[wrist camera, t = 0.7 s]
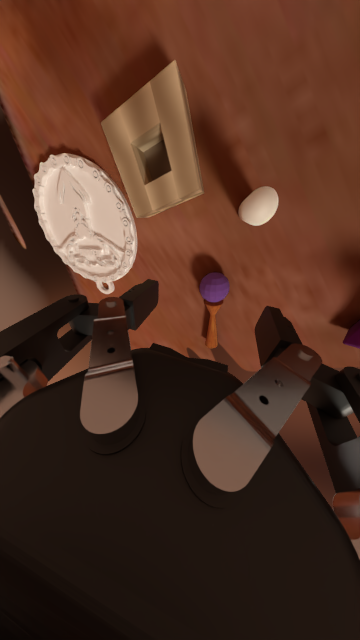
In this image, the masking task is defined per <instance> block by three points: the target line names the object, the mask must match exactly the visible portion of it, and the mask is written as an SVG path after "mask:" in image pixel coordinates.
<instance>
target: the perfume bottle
mask: <svg viewBox="0 0 360 640" xmlns="http://www.w3.org/2000/svg"><path fill="white" fill-rule="evenodd" d="M343 343H344V344H346V345H350V346H353V347H356V348H360V320H359V321H358V322H357V323H356V324H354V325H353V326H352V327H351V328H350V329H349V330H348V332H347V334H346V337H345V339H344V341H343Z"/></svg>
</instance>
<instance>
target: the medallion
mask: <svg viewBox="0 0 360 640" xmlns="http://www.w3.org/2000/svg"><path fill="white" fill-rule="evenodd" d="M34 179H35V186H34V189H33V190H32V191H33V195H34V198H35V204H34V208H35V210H36V211H37V212H38V213H37V214H38V218H39V219H40V220H39V224H40V226H41V227H42V228H43V231H44V233H45V237H46V239H47V240H48V241H50V244H51V245H52V247H54V251H55V252H56V253H57V254H58V255H59V256H60V257H61V258H62V260H63V262H64V263H65V264H68V265H69V266H70V267H71V268H72V269H73V271H74V272H76V273H79V274H81V275H82V276H83V277H84V278H88V279H91V280H93V281H95V282H96V283H97V287H98V288H99V290H100V291H101V292H103V293H105V294H110V293H111V292H113V291H114V284H113V282H112V281H115V280H117V279H119V278H121V277H123V276H124V275H125V274H126V273H128V271H129V270H130V269H131V267H132V265H133V263H134V261H135V257H136V252H137V233H136V227H135V223H134V219H133V216H132V213H131V210H130V207H129V205H128V203H127V201H126V199H125V197H124V195H123V194H122V192H121V191H120V189H119V188H118V186H117V185H116V183H115V182H114V181H113V180H112V179H111V178H110V176H109V175H108V174H107V173H106V172H105V171H103V170H102V169H101V168H100V167H99V166H97V165H96V164H94V163H93V162H91V161H89V160H87V159H85V158H83V157H80V156H77V155H73V154H66V153H63V154H59V155H55V156H54V155H50V158H48V160H47V161H46V162H44V163H43V162H41V163H40V166H39V171H38V173H36V174H35V175H34ZM35 188H36V189H35ZM51 241H52V242H51ZM102 282H104V283H107V284H108V286H109V289H106V288H104V286H103V285H102Z"/></svg>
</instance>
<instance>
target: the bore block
mask: <svg viewBox="0 0 360 640" xmlns="http://www.w3.org/2000/svg"><path fill="white" fill-rule="evenodd" d="M101 125H102V128H103V131H104V133H105V136H106V138H107V141H108V144H109V146H110V149H111V152H112V154H113V157H114V160H115V162H116V165H117V168H118V170H119V173H120V175H121V178H122V181H123V183H124V186H125V189H126V191H127V194H128V197H129V199H130V202H131V205H132V207H133V210H134V213H135V215H136V218H144V217H151V216H153V215H155V214H158V213H160V212H162V211H165V210H167V209H169V208H171V207H174V206H176V205H178V204H181V203H183V202H185V201H187V200H190V199H192V198H194V197H197V196H199V195H201V194H203V193H204V189H203V184H202V178H201V172H200V167H199V161H198V155H197V150H196V144H195V138H194V133H193V127H192V121H191V116H190V110H189V104H188V99H187V93H186V89H185V86H184V83H183V80H182V77H181V75H180V72H179V69H178V66H177V63H176V61H175V60H174V61H173V62H172V63H171V64H169V65H168V66H167V67H166V68H165V69H163V70H162V71H161V72H160V73H159V74H158V75H156V76H155V77H154V78H153V79H152V80H151V81H149V82H148V83H147V84H146V85H145V86H143V87H142V88H141V89H140V90H139V91H138V92H136V93H135V94H134V95H133V96H132V97H130V98H129V99H128V100H127V101H126V102H125V103H123V104H122V105H121V106H120V107H119V108H117V109H116V110H115V111H114V112H113V113H112V114H110V115H109V116H108V117H107V118H106V119H104V120H103V121H102V122H101Z"/></svg>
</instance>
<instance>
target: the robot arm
mask: <svg viewBox="0 0 360 640" xmlns="http://www.w3.org/2000/svg"><path fill="white" fill-rule="evenodd" d="M158 287H159V284H158V281H155V280H150V279H147V280H146V281H145V282H144V283H142V284H138V285H135V286H134V287H132V288H131V289H130V290H128V291H127V292H126V293H124V294H123V295H121V296H120V297H119V298H118V297H108V298H105V299H102V300H101V301H100V302H99V303H88V300H87V297H86V296H84V295H70V296H66V297H64V298H62V299H60V300H58V301H56V302H55V303H53V304H51V305H49V306H47V307H45V308H43V309H42V310H40V311H38V312H36V313H34V314H33V315H30V316H29V317H27V318H25V319H23V320H21V321H19V322H18V323H16V324H14V325H12V326H10V327H8V328H6V329H4V330H3V331H1V332H0V640H360V436H359V437H358V438H357V436H356V434H355V432H354V430H353V428H352V426H351V424H350V422H349V420H348V418H347V416H348V415H350V414H352V413H355V415H356V417H357V418H358V421H359V423H360V369H357V368H355V367H345V368H344V369H343V370H341V371H340V372H339V371H337V370H335V369H333V368H331V367H328V366H326V365H324V364H322V359H321V357H320V356H319V355H318V354H317V353H316V352H315V351H314V350H312V349H311V348H309V347H307V346H305V345H303V344H302V342H301V341H300V339H299V337H298V335H297V333H296V331H295V329H294V327H293V325H292V323H291V322H290V321H289V320H288V319H287V318H286V317H283V315H282V313H281V311H280V309H279V308H274V307H270V306H266V307H265V309H264V311H263V312H262V314H261V316H260V318H259V320H258V322H257V324H256V327H255V336H256V342H257V347H258V353H259V359H260V365H261V369H260V370H259V371H258V372H256V373H255V374H254V375H253V376H252V377H251V378H250V379H249V380H247V381H246V382H245V383H244V384H243V383H242V382H241V381H240V380H238V379H237V378H236V377H235V376H233V375H232V374H230V373H229V372H227V371H228V366H227V365H225V364H221V363H218V362H215V361H211V360H208V359H196V358H188V357H185V356H183V355H182V354H180V353H178V352H176V351H174V350H173V349H171V348H168V347H165V346H161V345H158V344H155V343H153V344H152V345H151V347H150V348H139V349H134V350H131V347H130V341H129V334H128V330H129V329H132V330H137V328H138V327H139V326H140V325H141V324H142V323H143V321H144V320H145V319H146V318H147V317H148V315H149V314H150V313H151V312H152V311H153V309H154V308H155V307H156V306H157V303H158ZM68 322H69V324H70V326H71V328H72V329H71V330H70V331H68V332H67V333H66V334H65V335H63V336H62V337H61V338H59V339H58V337H57V332H58V330H59V329H60V328H61V327H63V326H64V325H65V324H67V323H68ZM91 340H92V342H91V351H90V361H89V368H88V369H86V370H84V371H81V372H79V373H76V374H75V375H72V376H70V377H67V378H65V379H63V380H60V381H58V382H55V383H53V384H51V385H48V386H47V383H48V381H49V380H50V379H51V378H52V377H53V376H54V375H55V374H56V373H58V372H59V371H60V370H61V369H62V368H63V367H64V366H65V365H66V363H68V362H69V361H70V360H71V359H72V358H73V357H74V356H75V355H76V354H77V353H78V352H79V351H80V350H81V349H82V348H83V347H84V346H85V345H86V344H87V343H88V342H89V341H91ZM301 399H302V400H304V401H306V402H307V405H308V408H309V411H310V414H311V417H312V421H313V424H314V427H315V430H316V433H317V436H318V439H319V442H320V445H321V448H322V451H323V454H324V458H325V461H326V464H327V467H328V470H329V473H330V476H331V479H332V482H333V486H334V489H335V492H336V494H335V496H334V498H333V509H332V508H331V506H330V505H329V504H328V502H327V501H326V499H325V498H324V497H323V495H322V494H321V492H320V491H319V490H318V488H317V487H316V485H315V484H314V482H313V481H312V480H311V478H310V477H309V475H308V474H307V473H306V471H305V470H304V468H303V467H302V466H301V464H300V463H299V461H298V460H297V458H296V457H295V456H294V454H293V453H292V451H291V450H290V448H289V447H288V446H287V444H286V443H285V441H284V440H283V439H282V437H281V436H280V434H279V433H278V432H279V431H280V429H281V428H282V426H283V425H284V424H285V422H286V421H287V419H288V418H289V416H290V415H291V413H292V412H293V410H294V409H295V407H296V405H297V404H298V403H299V401H300V400H301ZM333 510H334V511H333Z"/></svg>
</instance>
